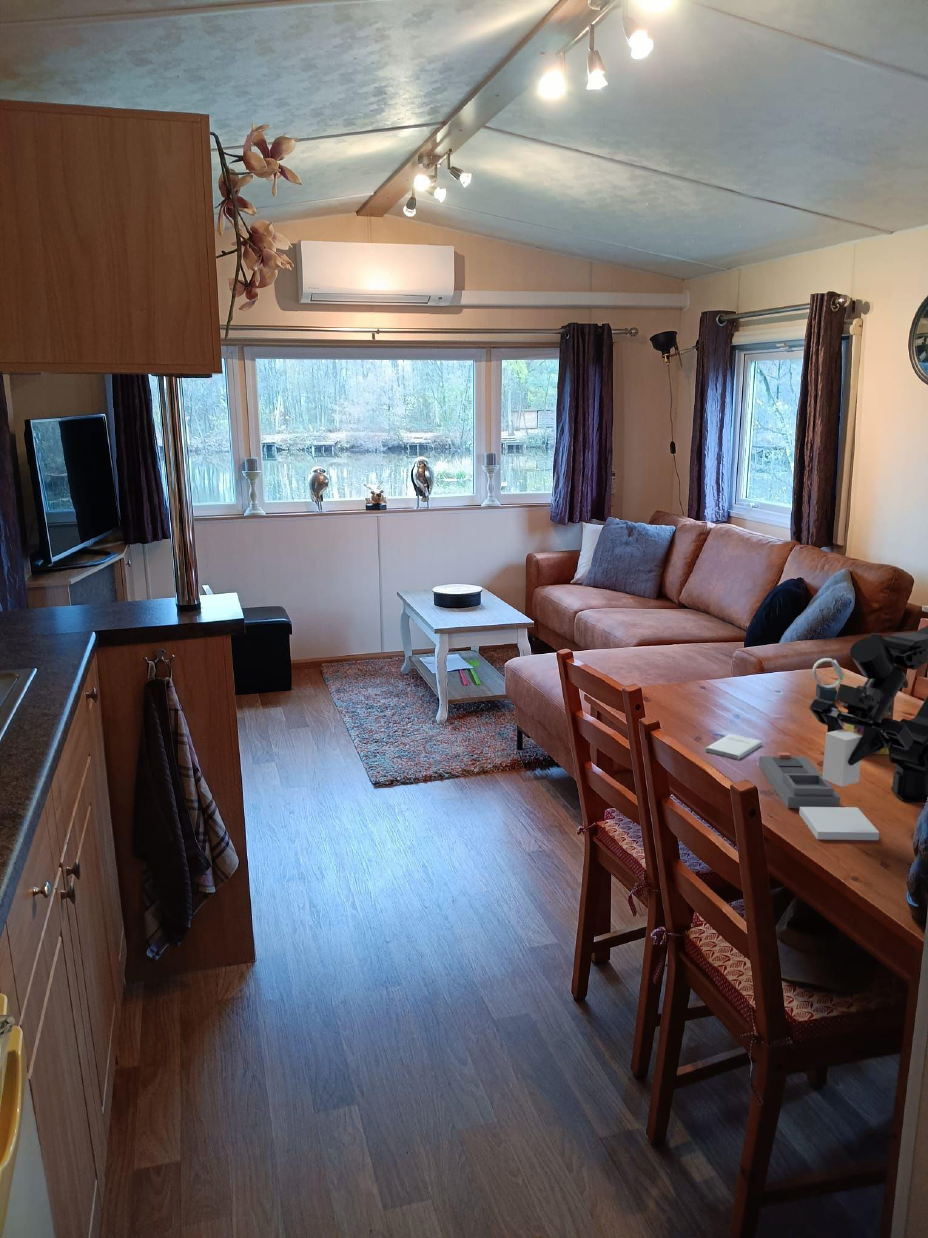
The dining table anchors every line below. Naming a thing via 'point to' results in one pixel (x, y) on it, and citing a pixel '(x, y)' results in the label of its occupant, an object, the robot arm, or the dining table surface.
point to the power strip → (798, 781)
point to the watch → (827, 690)
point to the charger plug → (840, 757)
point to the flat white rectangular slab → (838, 823)
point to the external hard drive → (734, 746)
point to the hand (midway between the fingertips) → (837, 760)
